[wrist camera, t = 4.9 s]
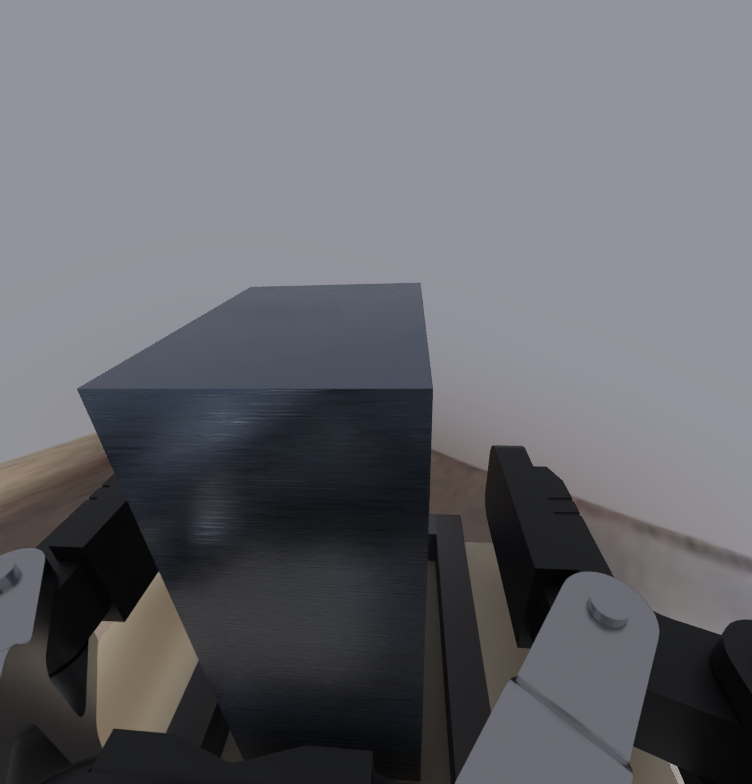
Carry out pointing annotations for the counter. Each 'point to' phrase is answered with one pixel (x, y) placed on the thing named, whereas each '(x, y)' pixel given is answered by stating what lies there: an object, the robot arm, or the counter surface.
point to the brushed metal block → (290, 507)
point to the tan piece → (441, 665)
